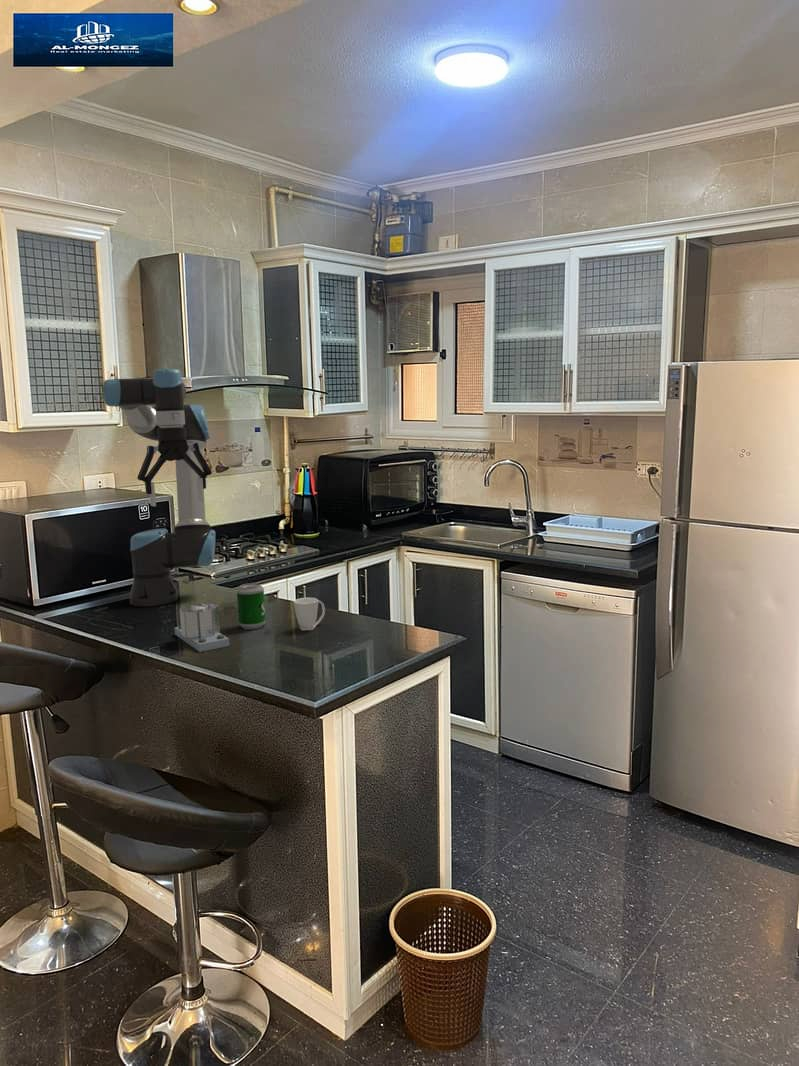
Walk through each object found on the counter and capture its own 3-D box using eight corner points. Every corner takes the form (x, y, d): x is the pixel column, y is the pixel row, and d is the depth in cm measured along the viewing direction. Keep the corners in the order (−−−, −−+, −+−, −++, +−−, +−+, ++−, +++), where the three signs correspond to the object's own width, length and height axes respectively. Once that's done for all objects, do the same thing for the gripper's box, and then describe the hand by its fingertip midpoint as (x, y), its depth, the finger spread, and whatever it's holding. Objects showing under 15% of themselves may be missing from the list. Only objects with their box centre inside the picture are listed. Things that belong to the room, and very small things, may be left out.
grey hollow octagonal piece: (177, 632, 214) (175, 607, 213) (211, 625, 219) (209, 601, 218) (189, 640, 206) (187, 614, 205) (224, 633, 211) (222, 608, 210)
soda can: (260, 630, 220) (257, 588, 218) (235, 629, 222) (232, 588, 220) (269, 623, 227) (267, 582, 225) (245, 622, 229) (242, 582, 227)
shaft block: (175, 634, 219) (172, 603, 217) (202, 629, 223) (200, 598, 222) (199, 652, 202) (197, 618, 201) (229, 645, 207) (227, 612, 205)
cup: (289, 629, 220) (287, 601, 219) (316, 621, 228) (315, 594, 226) (305, 633, 216) (304, 604, 214) (333, 625, 223) (331, 597, 221)
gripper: (129, 429, 206) (136, 509, 210) (219, 424, 219) (225, 499, 223) (121, 428, 212) (128, 506, 216) (210, 424, 226) (215, 497, 229)
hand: (177, 503), depth 219 cm, fingers open, 13 cm apart
